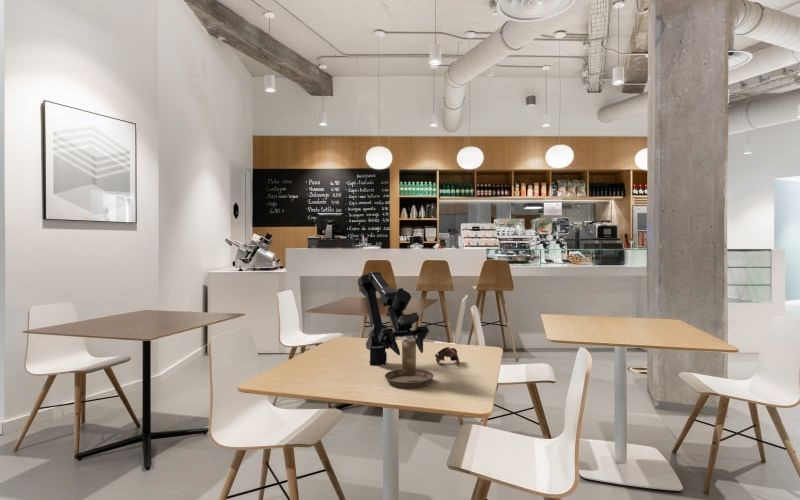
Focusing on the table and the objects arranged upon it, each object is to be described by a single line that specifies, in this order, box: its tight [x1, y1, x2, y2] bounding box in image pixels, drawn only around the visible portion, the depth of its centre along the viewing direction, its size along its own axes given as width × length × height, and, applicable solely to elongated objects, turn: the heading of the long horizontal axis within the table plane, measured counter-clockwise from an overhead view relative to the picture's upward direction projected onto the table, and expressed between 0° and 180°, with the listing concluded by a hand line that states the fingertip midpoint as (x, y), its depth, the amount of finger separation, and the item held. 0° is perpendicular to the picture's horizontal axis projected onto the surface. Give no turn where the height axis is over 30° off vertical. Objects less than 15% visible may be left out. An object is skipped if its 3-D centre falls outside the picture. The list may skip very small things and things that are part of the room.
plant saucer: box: [384, 368, 434, 389], centre depth 173 cm, size 18×18×3 cm
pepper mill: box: [401, 336, 417, 376], centre depth 173 cm, size 5×5×14 cm
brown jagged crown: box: [434, 346, 461, 367], centre depth 200 cm, size 12×10×8 cm
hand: (410, 353), depth 172 cm, fingers open, 9 cm apart
